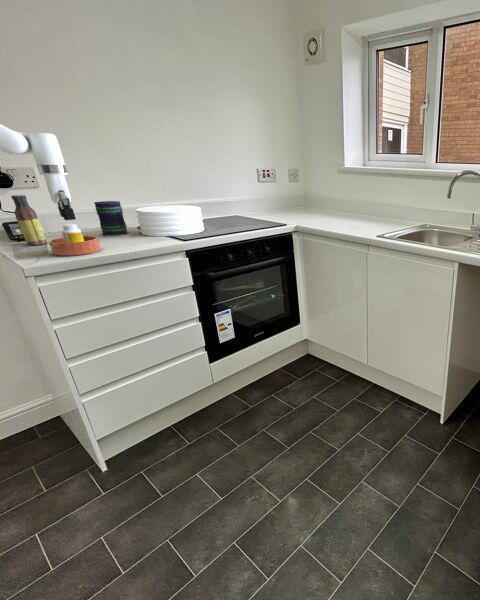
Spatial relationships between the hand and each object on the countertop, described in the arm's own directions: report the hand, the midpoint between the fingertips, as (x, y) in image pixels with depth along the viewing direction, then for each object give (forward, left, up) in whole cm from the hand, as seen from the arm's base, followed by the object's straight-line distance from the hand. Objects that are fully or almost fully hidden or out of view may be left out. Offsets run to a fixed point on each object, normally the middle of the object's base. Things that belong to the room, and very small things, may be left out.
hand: (68, 218), depth 133 cm
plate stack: (+41, +26, -13) cm, 50 cm away
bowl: (0, 0, -13) cm, 13 cm away
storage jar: (+18, +34, -13) cm, 41 cm away
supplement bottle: (0, 0, -13) cm, 13 cm away
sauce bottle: (-10, +26, -13) cm, 31 cm away
